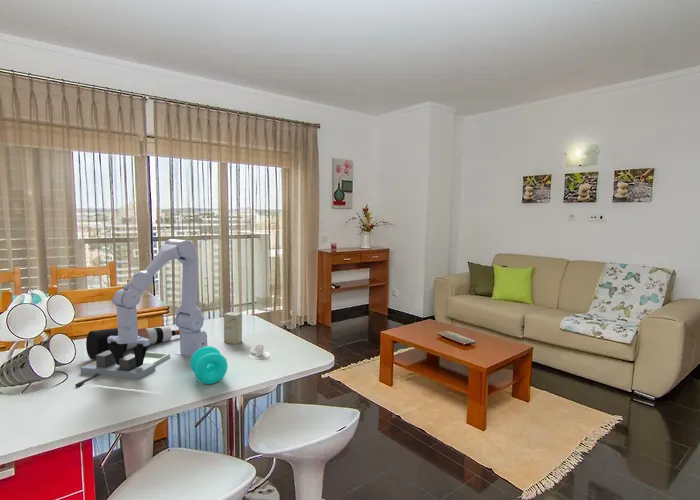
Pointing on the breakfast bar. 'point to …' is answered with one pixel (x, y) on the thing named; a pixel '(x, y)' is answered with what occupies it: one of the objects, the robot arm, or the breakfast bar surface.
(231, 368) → the breakfast bar surface
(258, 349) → the teacup and saucer
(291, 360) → the breakfast bar surface
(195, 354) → the teal spool
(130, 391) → the breakfast bar surface
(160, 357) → the tray
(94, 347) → the black white cylindrical piece
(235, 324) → the skincare box
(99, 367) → the power strip
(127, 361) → the plug
